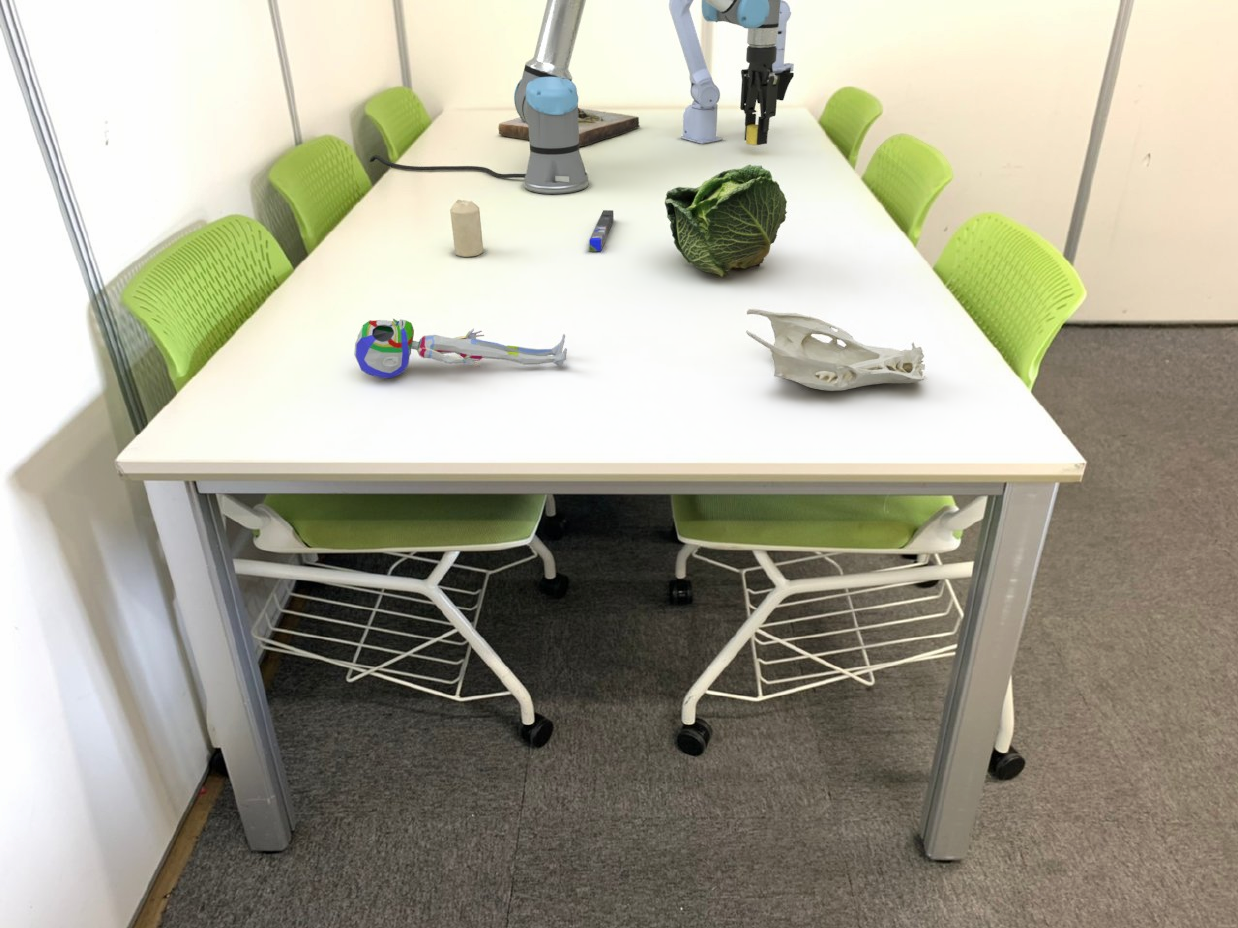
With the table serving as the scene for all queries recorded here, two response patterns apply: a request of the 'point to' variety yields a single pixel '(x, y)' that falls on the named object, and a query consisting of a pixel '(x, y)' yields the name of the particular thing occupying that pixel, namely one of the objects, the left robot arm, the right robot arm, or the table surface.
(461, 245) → the candle
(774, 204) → the vegetable
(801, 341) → the anatomical model
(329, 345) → the table surface
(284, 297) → the table surface
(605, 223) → the pillar
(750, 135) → the cylinder
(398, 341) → the toy
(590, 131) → the plaque
